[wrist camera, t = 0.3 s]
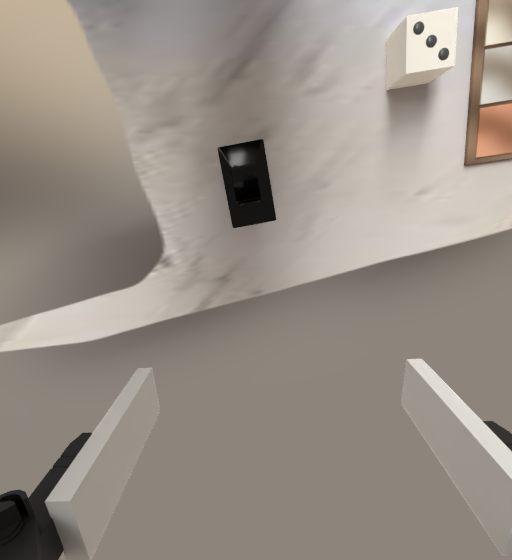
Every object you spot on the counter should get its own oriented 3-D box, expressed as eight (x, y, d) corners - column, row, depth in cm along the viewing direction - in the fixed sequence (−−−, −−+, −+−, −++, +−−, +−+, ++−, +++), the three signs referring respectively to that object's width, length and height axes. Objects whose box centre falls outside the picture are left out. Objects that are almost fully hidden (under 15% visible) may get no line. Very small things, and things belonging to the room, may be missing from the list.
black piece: (281, 228, 40) (285, 232, 35) (228, 237, 40) (224, 243, 36) (266, 126, 36) (268, 116, 31) (208, 138, 37) (201, 129, 32)
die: (385, 41, 33) (406, 15, 28) (429, 34, 33) (458, 6, 28) (385, 90, 34) (406, 73, 29) (427, 83, 34) (454, 65, 29)
